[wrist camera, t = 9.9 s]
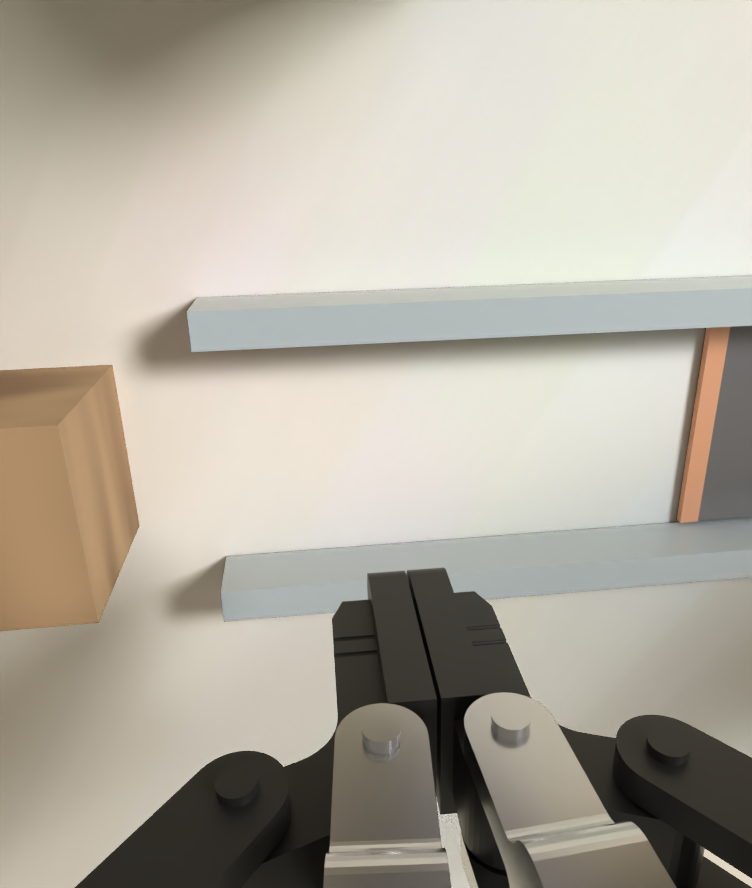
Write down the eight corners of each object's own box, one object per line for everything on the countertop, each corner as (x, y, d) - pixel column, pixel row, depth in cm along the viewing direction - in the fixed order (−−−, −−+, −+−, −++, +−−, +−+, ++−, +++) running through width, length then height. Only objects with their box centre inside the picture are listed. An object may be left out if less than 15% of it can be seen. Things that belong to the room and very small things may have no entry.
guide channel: (883, 270, 21) (941, 280, 19) (818, 536, 24) (862, 567, 22) (197, 297, 19) (186, 311, 17) (229, 583, 22) (223, 621, 20)
